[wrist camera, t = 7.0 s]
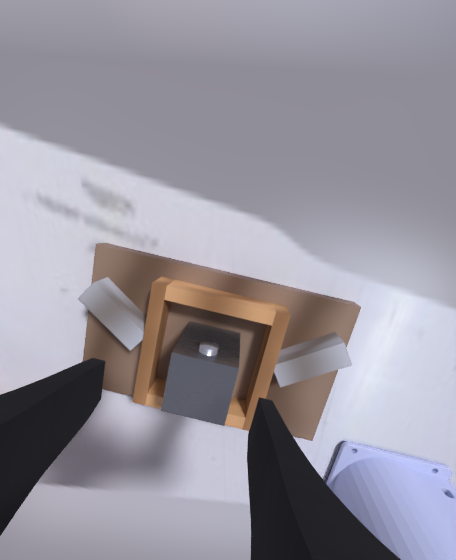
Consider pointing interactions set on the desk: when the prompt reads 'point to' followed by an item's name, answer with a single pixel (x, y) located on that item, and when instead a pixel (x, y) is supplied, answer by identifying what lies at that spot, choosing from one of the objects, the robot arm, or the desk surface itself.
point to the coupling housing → (223, 314)
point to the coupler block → (202, 373)
